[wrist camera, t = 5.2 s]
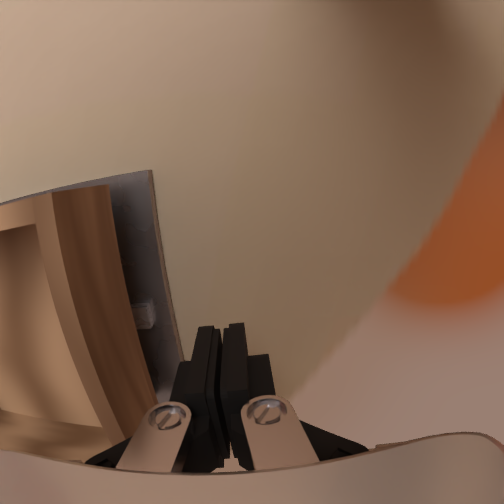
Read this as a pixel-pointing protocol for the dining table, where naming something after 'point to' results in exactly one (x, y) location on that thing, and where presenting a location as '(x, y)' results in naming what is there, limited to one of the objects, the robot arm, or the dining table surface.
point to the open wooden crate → (67, 329)
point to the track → (142, 272)
